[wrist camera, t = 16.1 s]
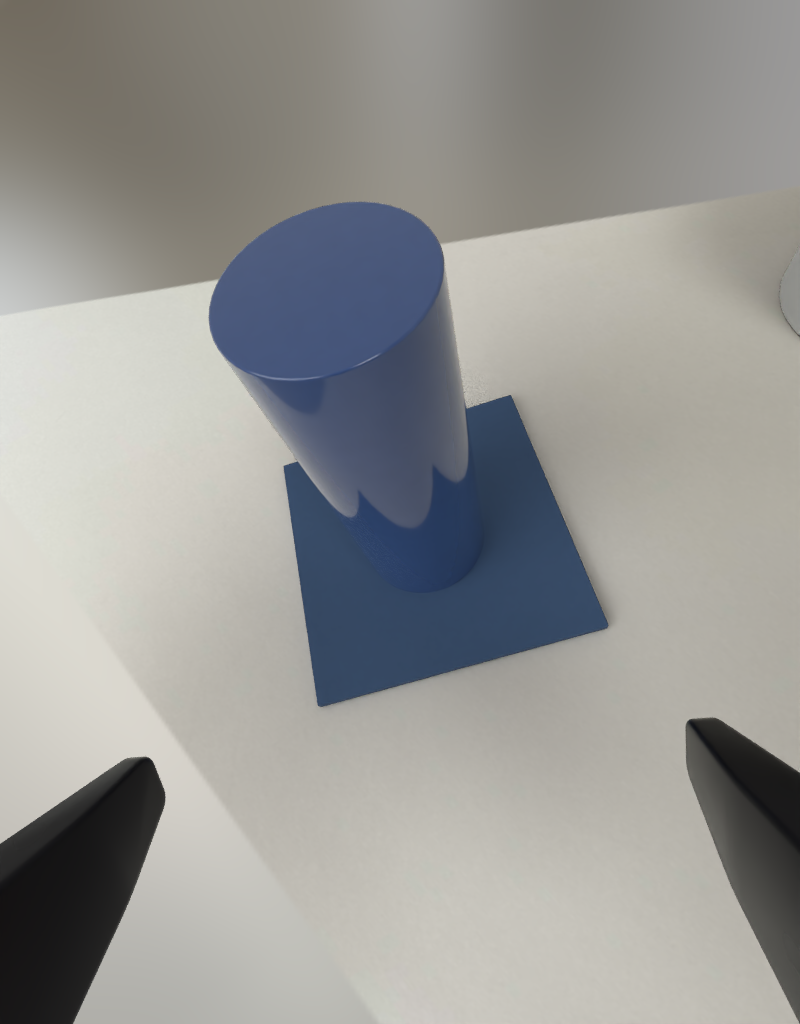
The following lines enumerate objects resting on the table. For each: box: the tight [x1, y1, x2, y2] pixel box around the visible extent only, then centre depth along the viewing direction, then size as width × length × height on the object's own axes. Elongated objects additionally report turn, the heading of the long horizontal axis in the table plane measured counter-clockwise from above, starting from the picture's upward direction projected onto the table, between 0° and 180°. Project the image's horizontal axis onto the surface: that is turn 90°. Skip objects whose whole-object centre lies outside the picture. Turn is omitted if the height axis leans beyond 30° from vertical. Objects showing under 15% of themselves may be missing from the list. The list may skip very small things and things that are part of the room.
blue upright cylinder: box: [209, 202, 485, 593], centre depth 18 cm, size 5×5×14 cm
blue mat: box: [284, 395, 608, 707], centre depth 24 cm, size 12×12×1 cm
